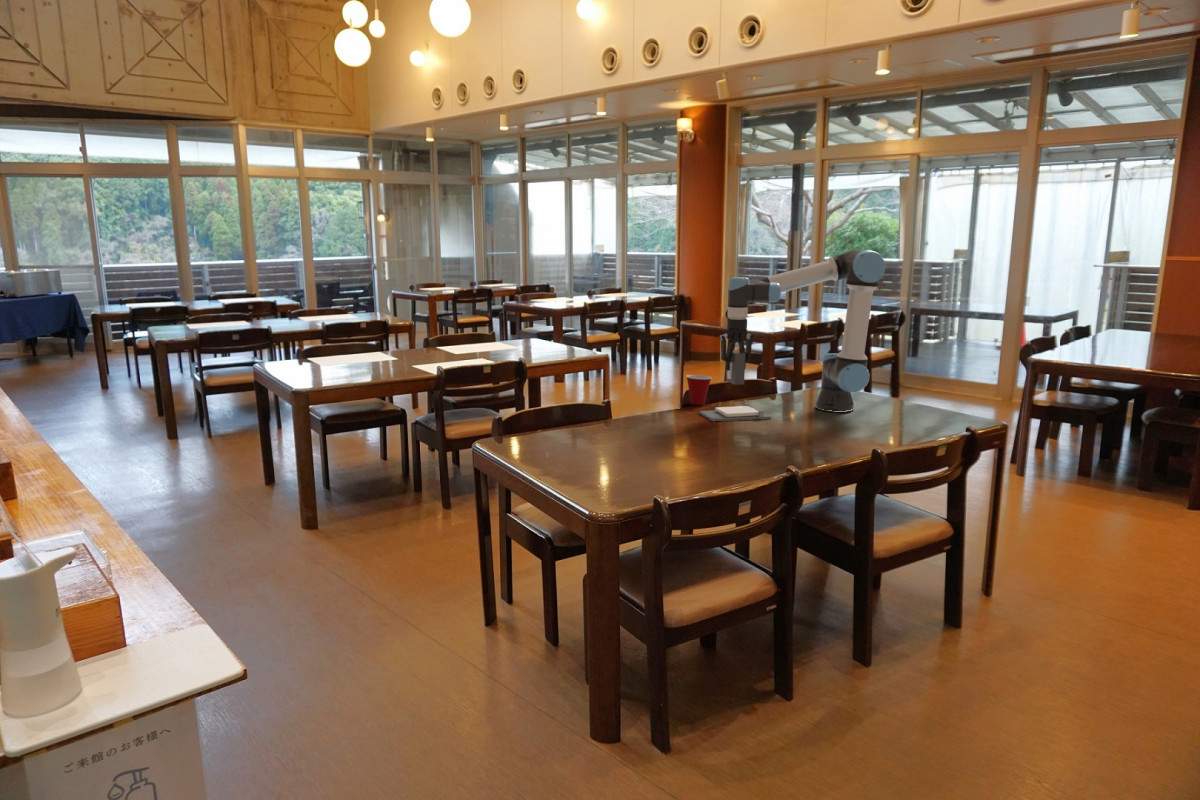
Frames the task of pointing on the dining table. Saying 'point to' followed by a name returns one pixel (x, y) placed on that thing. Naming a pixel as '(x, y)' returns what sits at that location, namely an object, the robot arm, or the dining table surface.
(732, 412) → the tile
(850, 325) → the robot arm
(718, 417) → the tile mat
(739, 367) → the gray rectangular block
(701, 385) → the plastic cup
